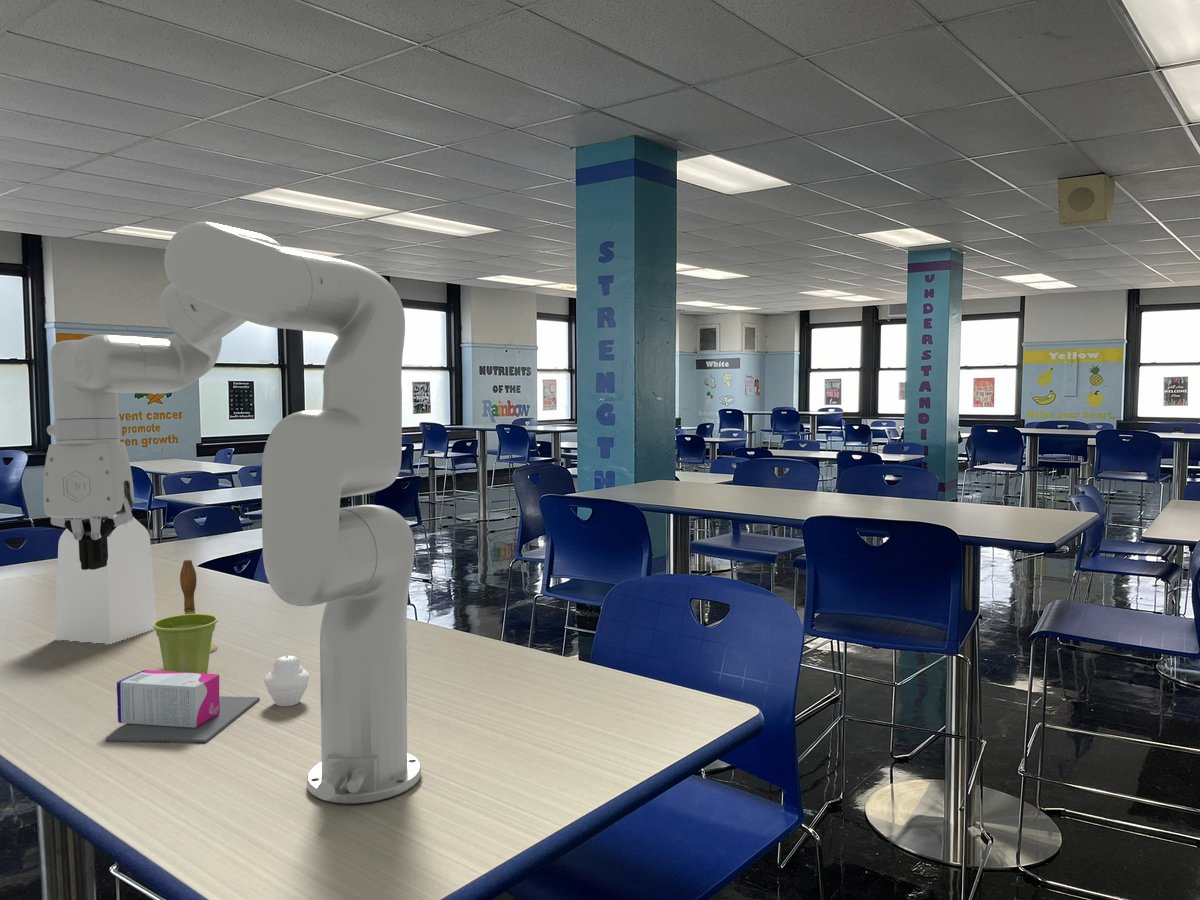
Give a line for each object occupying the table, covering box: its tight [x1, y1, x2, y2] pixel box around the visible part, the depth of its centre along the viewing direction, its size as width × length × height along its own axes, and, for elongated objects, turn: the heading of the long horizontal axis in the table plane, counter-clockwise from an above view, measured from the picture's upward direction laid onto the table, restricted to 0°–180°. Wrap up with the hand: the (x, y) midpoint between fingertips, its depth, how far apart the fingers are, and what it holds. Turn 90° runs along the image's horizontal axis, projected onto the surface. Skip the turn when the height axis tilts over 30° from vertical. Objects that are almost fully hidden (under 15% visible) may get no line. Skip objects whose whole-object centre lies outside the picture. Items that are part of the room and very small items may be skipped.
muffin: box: [264, 654, 310, 708], centre depth 125 cm, size 6×6×7 cm
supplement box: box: [116, 669, 220, 728], centre depth 117 cm, size 6×6×12 cm
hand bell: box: [179, 559, 218, 654], centre depth 150 cm, size 8×8×16 cm
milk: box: [54, 514, 158, 645], centre depth 161 cm, size 12×12×26 cm
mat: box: [105, 695, 261, 744], centre depth 118 cm, size 16×13×1 cm
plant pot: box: [153, 613, 219, 674], centre depth 137 cm, size 9×9×9 cm
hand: (94, 567), depth 117 cm, fingers closed
